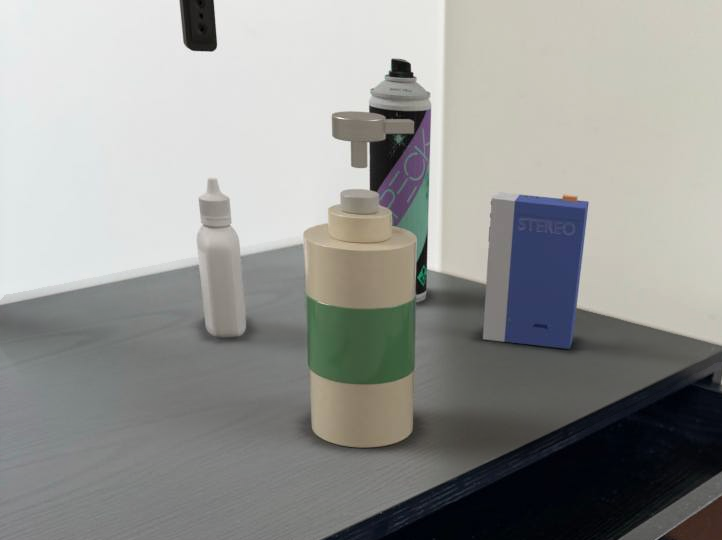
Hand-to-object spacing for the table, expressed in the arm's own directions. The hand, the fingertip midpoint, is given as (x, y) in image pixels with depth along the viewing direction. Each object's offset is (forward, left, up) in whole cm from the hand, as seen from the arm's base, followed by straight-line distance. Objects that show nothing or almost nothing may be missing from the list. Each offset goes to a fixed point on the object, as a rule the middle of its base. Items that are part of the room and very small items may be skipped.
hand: (200, 49), depth 72 cm
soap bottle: (+5, -22, -21) cm, 31 cm away
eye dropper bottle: (0, +1, -21) cm, 21 cm away
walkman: (+25, -8, -21) cm, 34 cm away
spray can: (+18, +7, -21) cm, 29 cm away
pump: (+6, -22, -4) cm, 23 cm away
